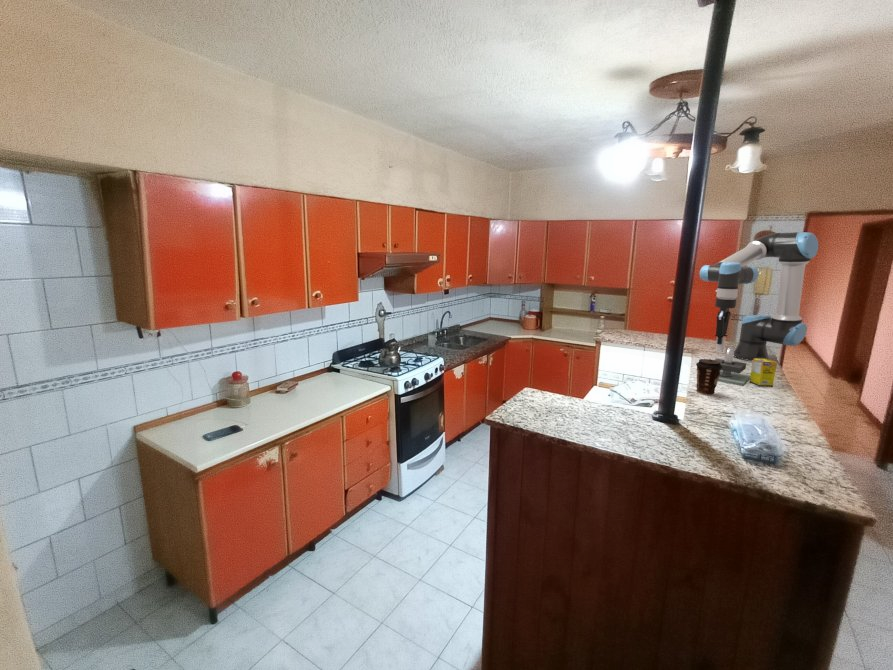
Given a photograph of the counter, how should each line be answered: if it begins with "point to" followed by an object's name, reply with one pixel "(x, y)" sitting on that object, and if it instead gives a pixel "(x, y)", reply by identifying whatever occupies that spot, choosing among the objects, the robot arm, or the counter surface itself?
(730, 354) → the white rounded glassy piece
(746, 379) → the base board
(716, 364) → the coffee cup
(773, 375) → the supplement box
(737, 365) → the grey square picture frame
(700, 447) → the counter surface
